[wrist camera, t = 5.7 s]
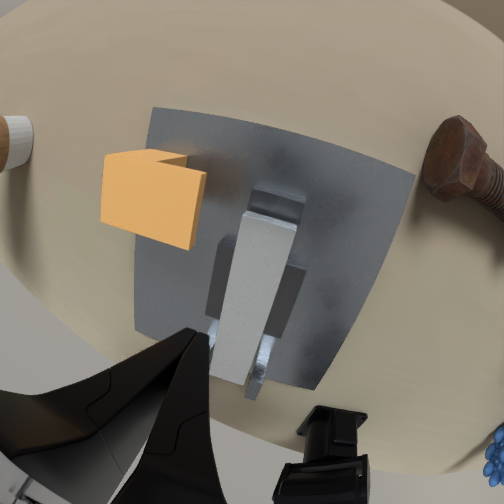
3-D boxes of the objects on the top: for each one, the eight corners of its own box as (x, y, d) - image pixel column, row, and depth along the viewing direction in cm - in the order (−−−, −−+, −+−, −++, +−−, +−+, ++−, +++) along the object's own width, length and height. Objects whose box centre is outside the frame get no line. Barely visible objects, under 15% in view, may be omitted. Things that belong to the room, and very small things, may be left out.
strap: (246, 377, 22) (243, 385, 21) (212, 366, 22) (208, 374, 21) (297, 225, 16) (296, 231, 15) (246, 210, 16) (242, 215, 15)
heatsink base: (314, 379, 25) (312, 419, 20) (142, 321, 26) (116, 351, 22) (408, 172, 16) (437, 183, 12) (163, 108, 18) (123, 103, 13)
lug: (218, 223, 19) (188, 250, 14) (143, 202, 19) (100, 221, 15) (230, 165, 17) (201, 174, 13) (150, 148, 18) (105, 154, 13)
